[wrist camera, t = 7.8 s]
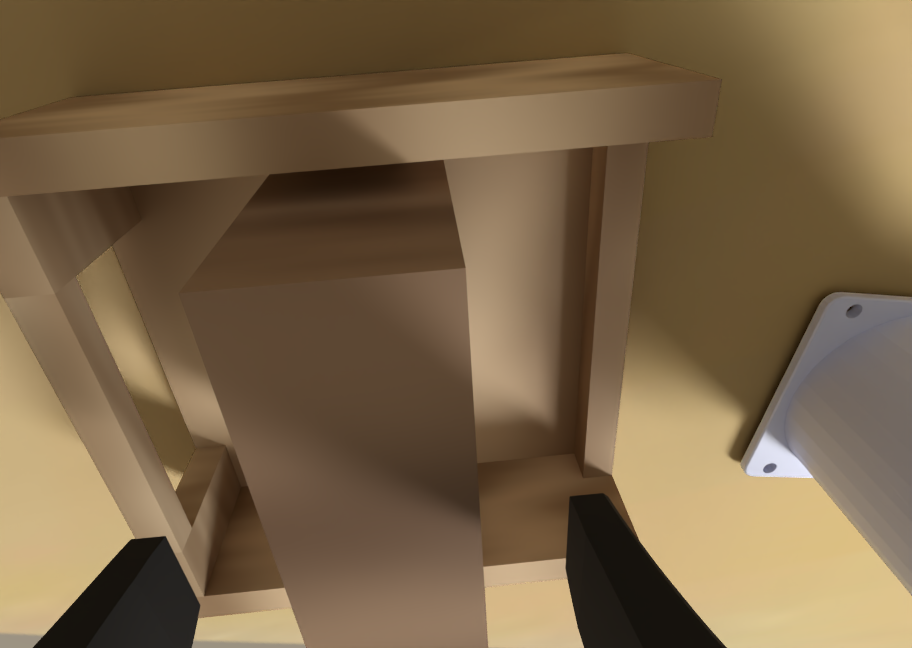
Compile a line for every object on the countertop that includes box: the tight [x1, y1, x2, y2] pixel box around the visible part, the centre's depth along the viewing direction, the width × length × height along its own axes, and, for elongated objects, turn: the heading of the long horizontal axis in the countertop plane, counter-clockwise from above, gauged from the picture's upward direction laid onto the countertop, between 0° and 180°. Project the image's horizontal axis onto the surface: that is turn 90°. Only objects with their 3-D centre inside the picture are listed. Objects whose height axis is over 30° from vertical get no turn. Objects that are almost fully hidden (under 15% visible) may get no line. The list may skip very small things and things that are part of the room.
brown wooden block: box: [178, 160, 488, 648], centre depth 13 cm, size 10×4×6 cm, turn 4°
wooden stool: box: [0, 53, 722, 618], centre depth 15 cm, size 14×14×5 cm
